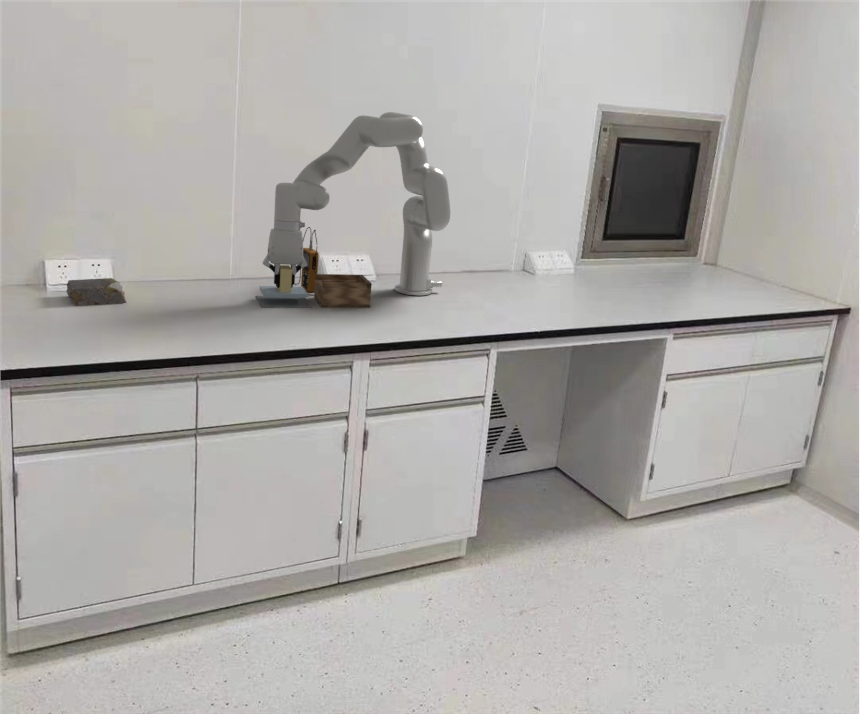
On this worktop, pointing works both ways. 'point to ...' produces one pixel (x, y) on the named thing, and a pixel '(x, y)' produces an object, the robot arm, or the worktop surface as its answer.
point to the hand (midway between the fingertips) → (284, 286)
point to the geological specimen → (95, 292)
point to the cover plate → (284, 286)
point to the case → (342, 290)
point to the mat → (284, 302)
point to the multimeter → (309, 267)
